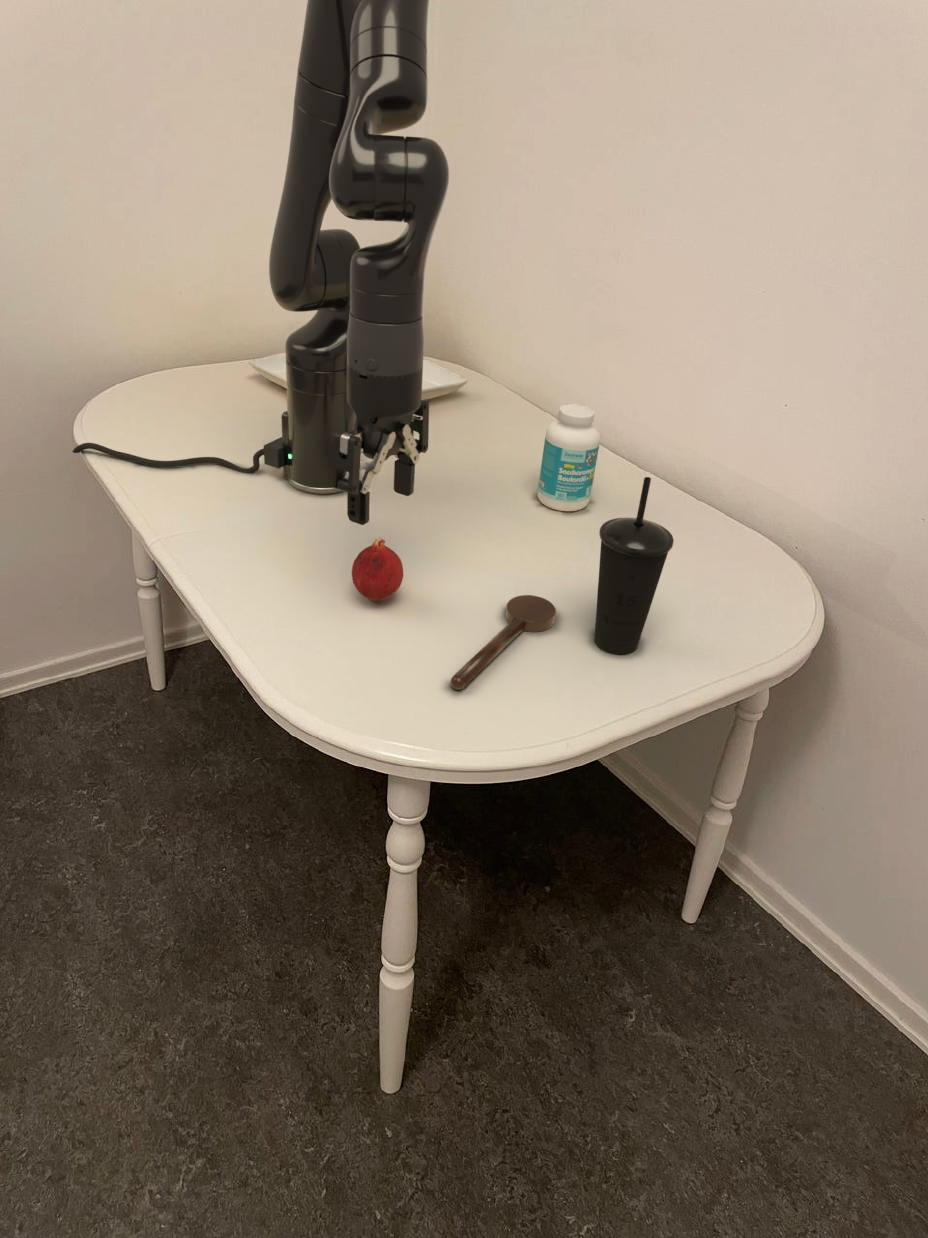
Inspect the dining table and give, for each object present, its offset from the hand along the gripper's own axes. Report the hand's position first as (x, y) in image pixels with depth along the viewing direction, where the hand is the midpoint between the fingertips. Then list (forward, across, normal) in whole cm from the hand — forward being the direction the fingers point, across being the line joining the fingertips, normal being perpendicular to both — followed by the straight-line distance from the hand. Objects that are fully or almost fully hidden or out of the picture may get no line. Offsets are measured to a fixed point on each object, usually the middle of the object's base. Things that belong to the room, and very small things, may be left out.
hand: (381, 507), depth 104 cm
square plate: (+12, -53, -41) cm, 68 cm away
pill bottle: (+12, -37, +6) cm, 39 cm away
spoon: (+12, 0, +16) cm, 20 cm away
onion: (+12, 0, 0) cm, 12 cm away
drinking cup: (+12, -9, +26) cm, 30 cm away
